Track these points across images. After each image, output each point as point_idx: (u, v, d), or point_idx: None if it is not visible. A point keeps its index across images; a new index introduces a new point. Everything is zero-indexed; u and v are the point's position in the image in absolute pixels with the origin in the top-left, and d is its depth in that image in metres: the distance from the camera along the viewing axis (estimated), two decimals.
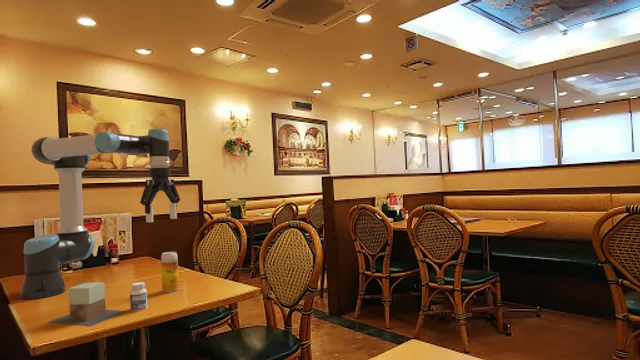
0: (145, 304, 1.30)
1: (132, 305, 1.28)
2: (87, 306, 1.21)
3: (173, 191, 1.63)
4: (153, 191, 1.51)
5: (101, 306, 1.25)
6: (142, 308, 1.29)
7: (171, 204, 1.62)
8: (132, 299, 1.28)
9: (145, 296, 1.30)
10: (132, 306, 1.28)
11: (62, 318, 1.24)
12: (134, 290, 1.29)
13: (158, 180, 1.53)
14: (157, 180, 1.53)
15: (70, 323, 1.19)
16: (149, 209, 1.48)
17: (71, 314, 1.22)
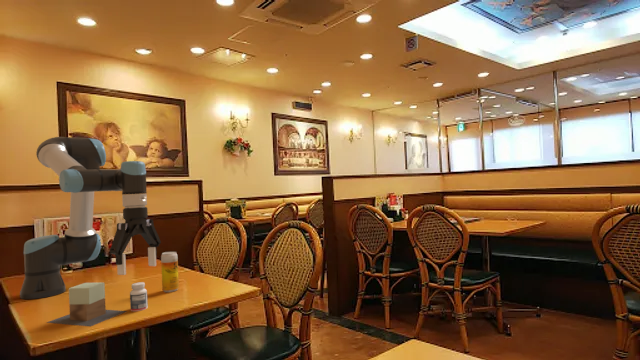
0: (145, 304, 1.30)
1: (132, 305, 1.28)
2: (87, 306, 1.21)
3: (152, 233, 1.38)
4: (126, 237, 1.26)
5: (101, 306, 1.25)
6: (142, 308, 1.29)
7: (150, 248, 1.37)
8: (132, 299, 1.28)
9: (145, 296, 1.30)
10: (132, 306, 1.28)
11: (62, 318, 1.24)
12: (134, 290, 1.29)
13: (132, 223, 1.28)
14: (131, 223, 1.28)
15: (70, 323, 1.19)
16: (121, 259, 1.23)
17: (71, 314, 1.22)
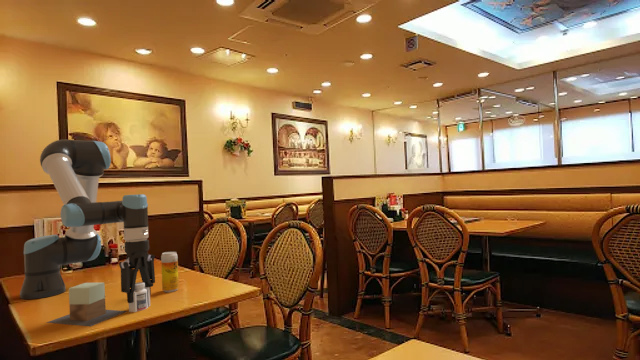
0: (145, 304, 1.30)
1: None
2: (87, 306, 1.21)
3: (149, 269, 1.36)
4: (132, 273, 1.28)
5: (101, 306, 1.25)
6: (142, 308, 1.29)
7: None
8: None
9: (145, 296, 1.30)
10: None
11: (62, 318, 1.24)
12: (134, 290, 1.29)
13: (133, 256, 1.28)
14: (132, 257, 1.28)
15: (70, 323, 1.19)
16: (132, 297, 1.27)
17: (71, 314, 1.22)
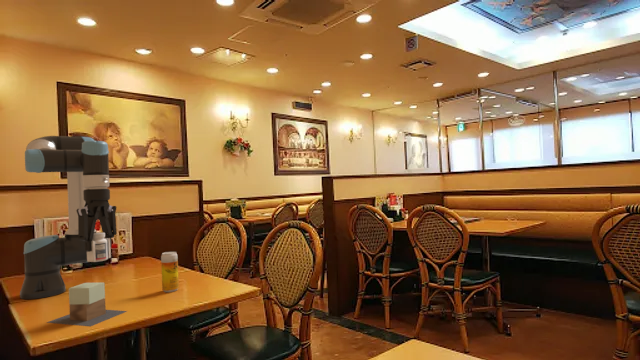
0: (105, 254, 1.26)
1: None
2: (87, 306, 1.21)
3: (111, 220, 1.31)
4: (90, 222, 1.24)
5: (101, 306, 1.25)
6: (101, 258, 1.25)
7: None
8: None
9: (105, 246, 1.26)
10: None
11: (62, 318, 1.24)
12: (93, 239, 1.25)
13: (92, 204, 1.24)
14: (91, 205, 1.23)
15: (70, 323, 1.19)
16: (90, 246, 1.23)
17: (71, 314, 1.22)
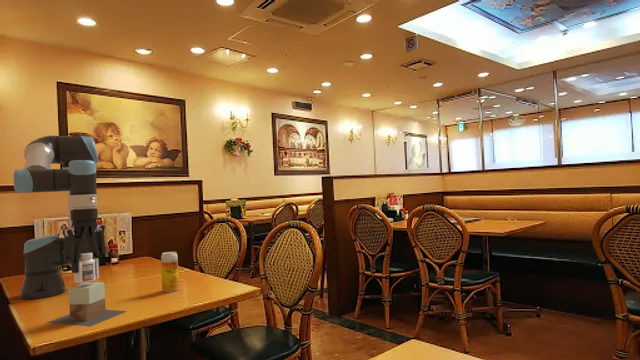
0: (92, 275, 1.24)
1: None
2: (87, 306, 1.21)
3: (99, 240, 1.30)
4: (77, 242, 1.22)
5: (101, 306, 1.25)
6: (89, 279, 1.23)
7: None
8: None
9: (92, 267, 1.24)
10: None
11: (62, 318, 1.24)
12: (80, 260, 1.23)
13: (79, 224, 1.22)
14: (78, 225, 1.22)
15: (70, 323, 1.19)
16: (77, 267, 1.21)
17: (71, 314, 1.22)
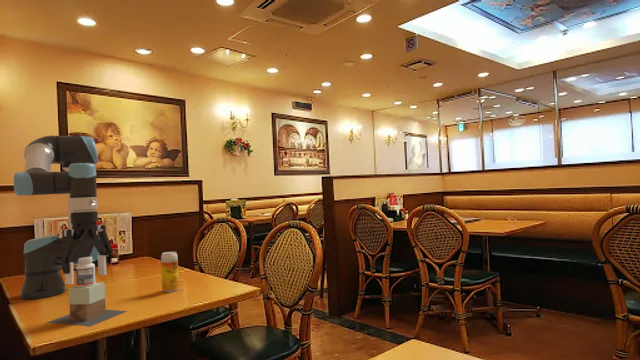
0: (92, 279, 1.24)
1: (78, 280, 1.22)
2: (87, 306, 1.21)
3: (103, 239, 1.31)
4: (74, 243, 1.21)
5: (101, 306, 1.25)
6: (89, 283, 1.23)
7: (99, 257, 1.30)
8: (78, 274, 1.22)
9: (92, 271, 1.24)
10: (78, 281, 1.23)
11: (62, 318, 1.24)
12: (80, 264, 1.23)
13: (80, 228, 1.22)
14: (78, 228, 1.22)
15: (70, 323, 1.19)
16: (68, 268, 1.18)
17: (71, 314, 1.22)
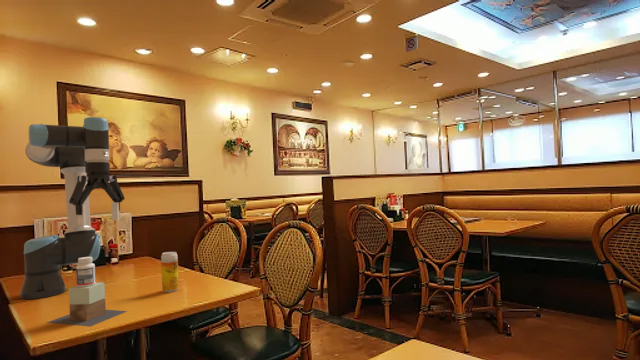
0: (92, 279, 1.24)
1: (78, 280, 1.22)
2: (87, 306, 1.21)
3: (116, 189, 1.43)
4: (87, 189, 1.32)
5: (101, 306, 1.25)
6: (89, 283, 1.23)
7: (113, 204, 1.42)
8: (78, 274, 1.22)
9: (92, 271, 1.24)
10: (78, 281, 1.23)
11: (62, 318, 1.24)
12: (80, 264, 1.23)
13: (94, 176, 1.34)
14: (92, 176, 1.33)
15: (70, 323, 1.19)
16: (80, 210, 1.29)
17: (71, 314, 1.22)
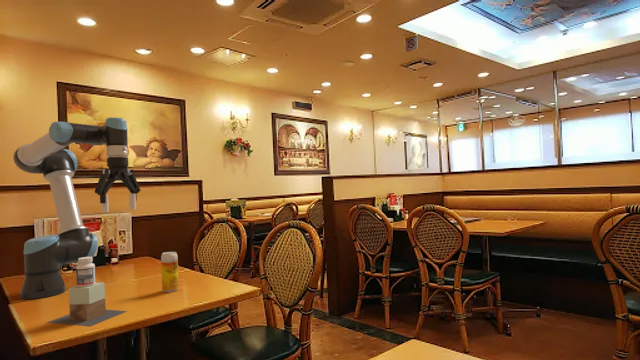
0: (92, 279, 1.24)
1: (78, 280, 1.22)
2: (87, 306, 1.21)
3: (133, 181, 1.60)
4: (109, 181, 1.49)
5: (101, 306, 1.25)
6: (89, 283, 1.23)
7: (130, 194, 1.60)
8: (78, 274, 1.22)
9: (92, 271, 1.24)
10: (78, 281, 1.23)
11: (62, 318, 1.24)
12: (80, 264, 1.23)
13: (115, 170, 1.51)
14: (114, 170, 1.51)
15: (70, 323, 1.19)
16: (104, 199, 1.46)
17: (71, 314, 1.22)
